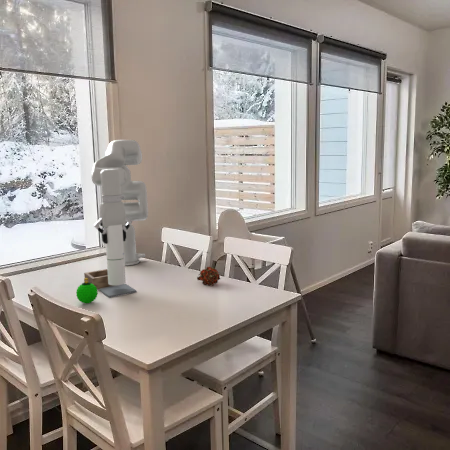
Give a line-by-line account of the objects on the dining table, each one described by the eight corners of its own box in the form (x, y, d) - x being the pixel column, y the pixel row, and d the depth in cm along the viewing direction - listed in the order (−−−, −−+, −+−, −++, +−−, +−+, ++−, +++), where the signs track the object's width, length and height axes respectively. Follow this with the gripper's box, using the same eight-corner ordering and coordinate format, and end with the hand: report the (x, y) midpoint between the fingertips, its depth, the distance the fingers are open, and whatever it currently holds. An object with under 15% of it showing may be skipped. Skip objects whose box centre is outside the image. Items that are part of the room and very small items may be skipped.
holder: (109, 279, 220) (108, 268, 219) (118, 285, 210) (118, 274, 209) (85, 283, 213) (84, 272, 212) (93, 289, 204) (92, 278, 203)
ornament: (76, 307, 183) (74, 282, 181) (77, 300, 190) (75, 276, 189) (98, 305, 185) (96, 280, 183) (98, 298, 192) (96, 274, 191)
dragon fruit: (216, 291, 203) (201, 289, 213) (228, 277, 206) (213, 275, 216) (204, 278, 200) (190, 276, 210) (216, 263, 203) (202, 262, 213)
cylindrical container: (127, 280, 204) (124, 222, 199) (122, 285, 197) (119, 226, 192) (111, 280, 205) (107, 223, 200) (105, 285, 198) (101, 226, 193)
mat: (125, 285, 210) (125, 283, 209) (136, 292, 200) (136, 290, 200) (99, 290, 203) (98, 288, 203) (108, 297, 193) (108, 295, 193)
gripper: (128, 196, 202) (130, 237, 205) (87, 200, 193) (90, 243, 196) (135, 198, 196) (137, 240, 199) (93, 202, 187) (97, 246, 190)
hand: (114, 241), depth 198 cm, fingers closed on cylindrical container, 7 cm apart
